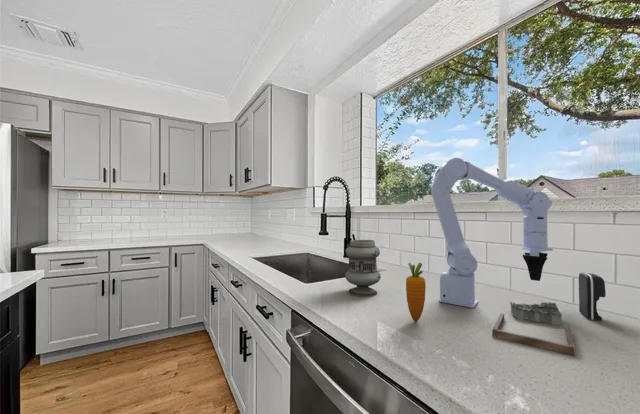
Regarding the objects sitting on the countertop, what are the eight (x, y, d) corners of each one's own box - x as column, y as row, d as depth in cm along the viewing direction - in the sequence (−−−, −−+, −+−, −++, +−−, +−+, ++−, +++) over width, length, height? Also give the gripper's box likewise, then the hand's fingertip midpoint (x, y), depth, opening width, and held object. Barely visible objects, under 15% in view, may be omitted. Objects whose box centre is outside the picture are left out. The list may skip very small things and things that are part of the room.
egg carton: (558, 318, 75) (558, 303, 76) (563, 327, 69) (563, 310, 69) (510, 310, 81) (510, 296, 81) (510, 318, 75) (510, 302, 75)
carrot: (402, 318, 73) (402, 260, 74) (420, 318, 74) (420, 260, 74) (410, 326, 68) (409, 263, 69) (429, 325, 69) (429, 263, 69)
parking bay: (492, 336, 63) (492, 329, 63) (500, 318, 74) (500, 313, 74) (574, 355, 55) (574, 347, 55) (570, 332, 65) (570, 326, 65)
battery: (608, 323, 72) (607, 277, 72) (588, 320, 73) (587, 275, 74) (596, 314, 78) (595, 272, 78) (578, 312, 80) (577, 271, 80)
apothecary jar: (340, 289, 102) (340, 239, 103) (371, 287, 105) (371, 238, 106) (352, 298, 91) (352, 242, 91) (386, 296, 93) (386, 241, 94)
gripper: (552, 234, 76) (553, 284, 76) (552, 231, 88) (552, 276, 87) (520, 232, 81) (521, 280, 80) (524, 230, 92) (524, 273, 92)
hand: (535, 278), depth 84 cm, fingers open, 6 cm apart
